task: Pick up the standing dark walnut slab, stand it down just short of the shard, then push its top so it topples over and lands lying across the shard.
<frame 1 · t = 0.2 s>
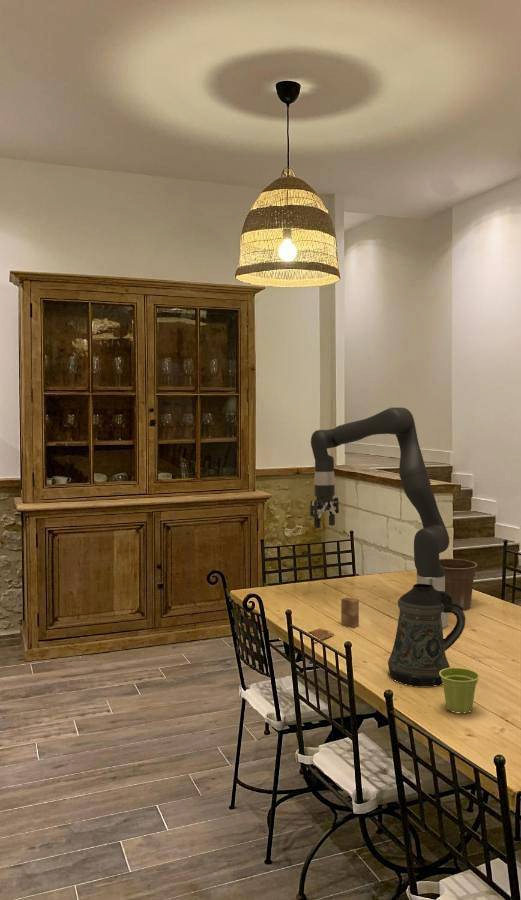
hand: (324, 526, 274), 29 cm above the table, tool pointing down, fingers open, 8 cm apart
walnut slab: (349, 626, 247), on the table
beer stein: (423, 676, 201), on the table
plant pot: (453, 607, 270), on the table
plant pot 2: (458, 710, 178), on the table
shard: (322, 639, 234), on the table
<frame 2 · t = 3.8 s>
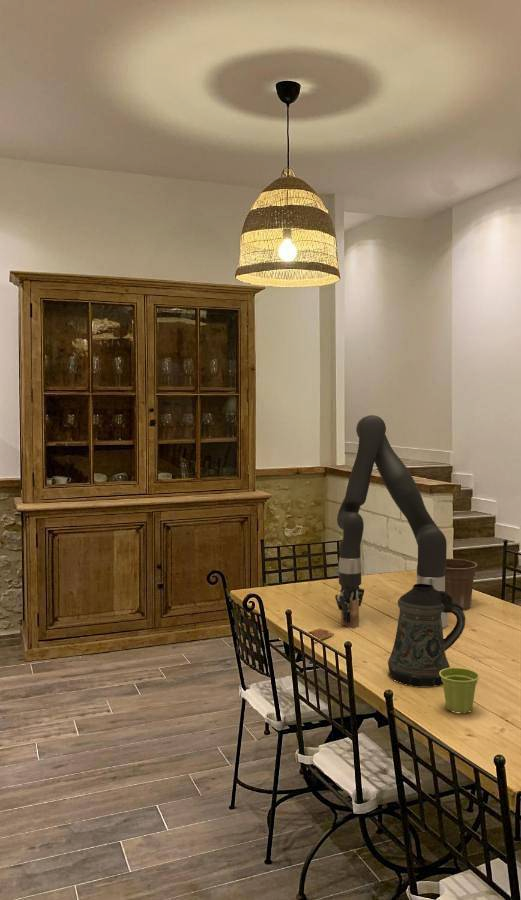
hand: (350, 621, 247), 2 cm above the table, tool pointing down, fingers closed on walnut slab, 3 cm apart
walnut slab: (350, 625, 247), on the table, touching gripper
everything else where it was.
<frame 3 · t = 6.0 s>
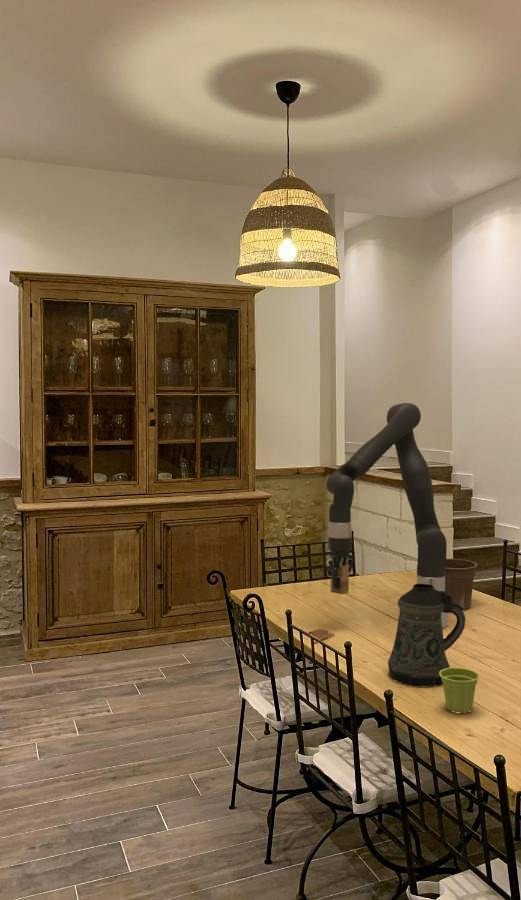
hand: (339, 587, 240), 14 cm above the table, tool pointing down, fingers closed on walnut slab, 3 cm apart
walnut slab: (339, 592, 240), point 13 cm above the table, touching gripper
everything else where it was.
when the fingers open (2 cm above the table, at t = 8.3 s): walnut slab stays where it is, on the table.
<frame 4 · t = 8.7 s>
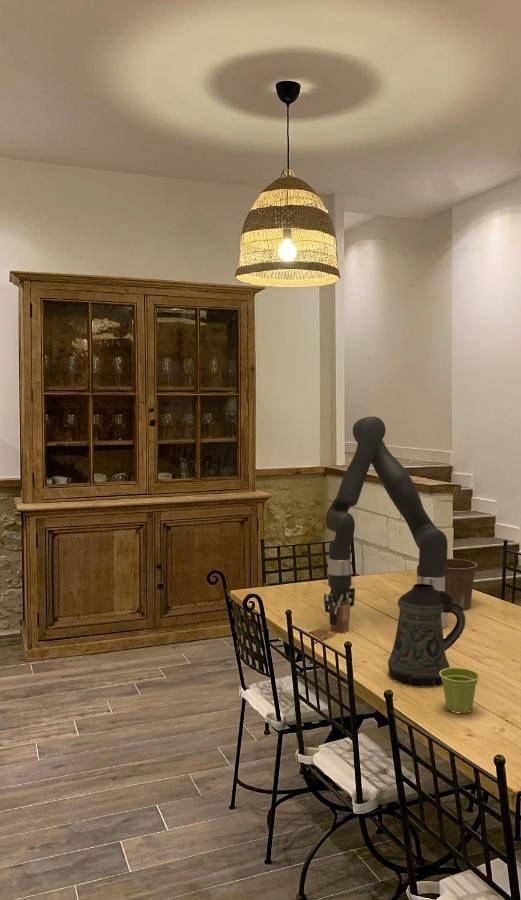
hand: (339, 622, 241), 3 cm above the table, tool pointing down, fingers open, 6 cm apart
walnut slab: (339, 631, 241), on the table
everything else where it was.
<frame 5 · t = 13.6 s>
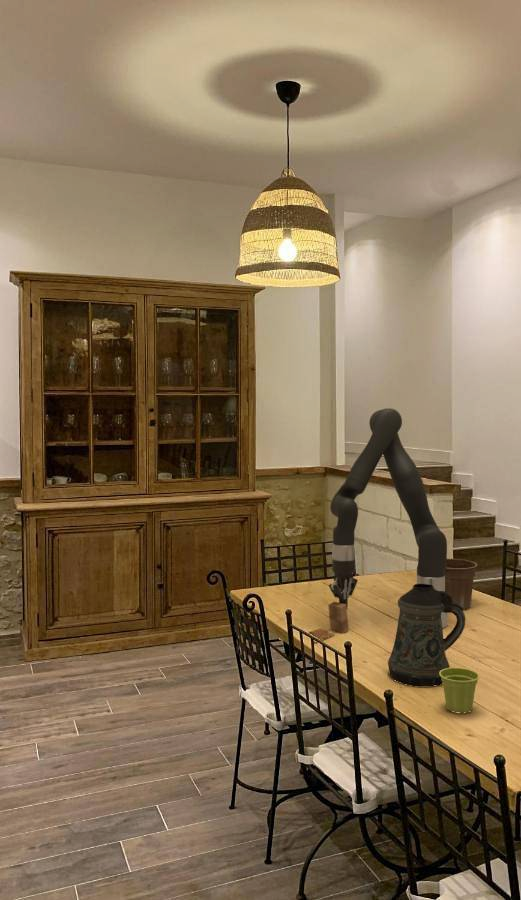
hand: (343, 609, 242), 7 cm above the table, tool pointing down, fingers closed
walnut slab: (339, 630, 241), on the table, tilted 8°, touching gripper
everything else where it was.
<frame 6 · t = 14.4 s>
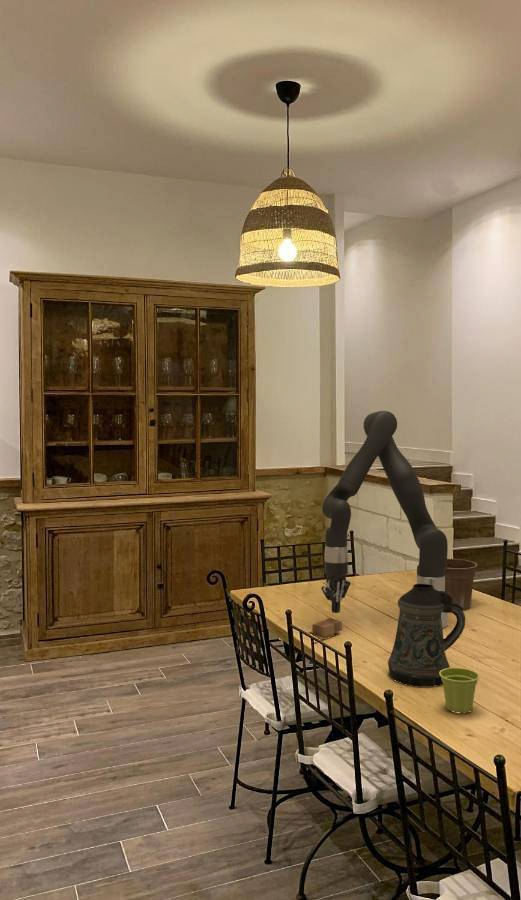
hand: (336, 612, 239), 7 cm above the table, tool pointing down, fingers closed
walnut slab: (335, 624, 239), point 3 cm above the table, tilted 90°
everything else where it was.
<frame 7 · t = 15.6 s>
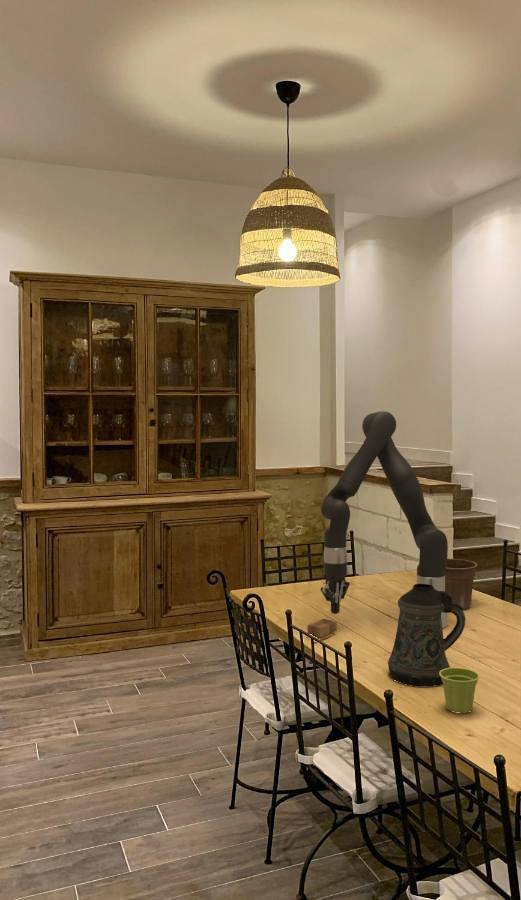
hand: (335, 613, 239), 6 cm above the table, tool pointing down, fingers closed
walnut slab: (330, 624, 239), point 3 cm above the table, tilted 90°, touching shard
shard: (322, 640, 234), on the table, touching walnut slab
everything else where it was.
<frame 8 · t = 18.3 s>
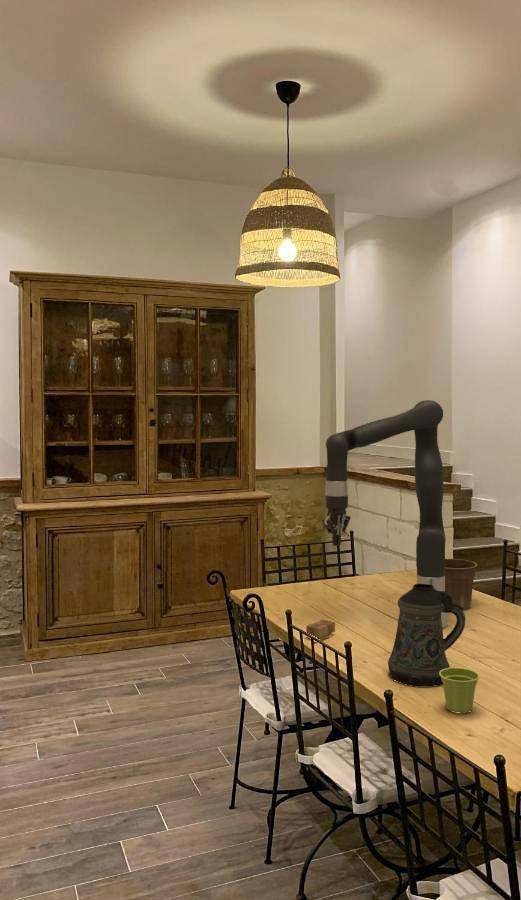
hand: (336, 545, 246), 27 cm above the table, tool pointing down, fingers closed
walnut slab: (328, 625, 238), point 3 cm above the table, tilted 90°, touching shard
everything else where it was.
at the end: walnut slab tilted 90°; walnut slab 5.1 cm from the shard (horizontally); the gripper is holding nothing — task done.
